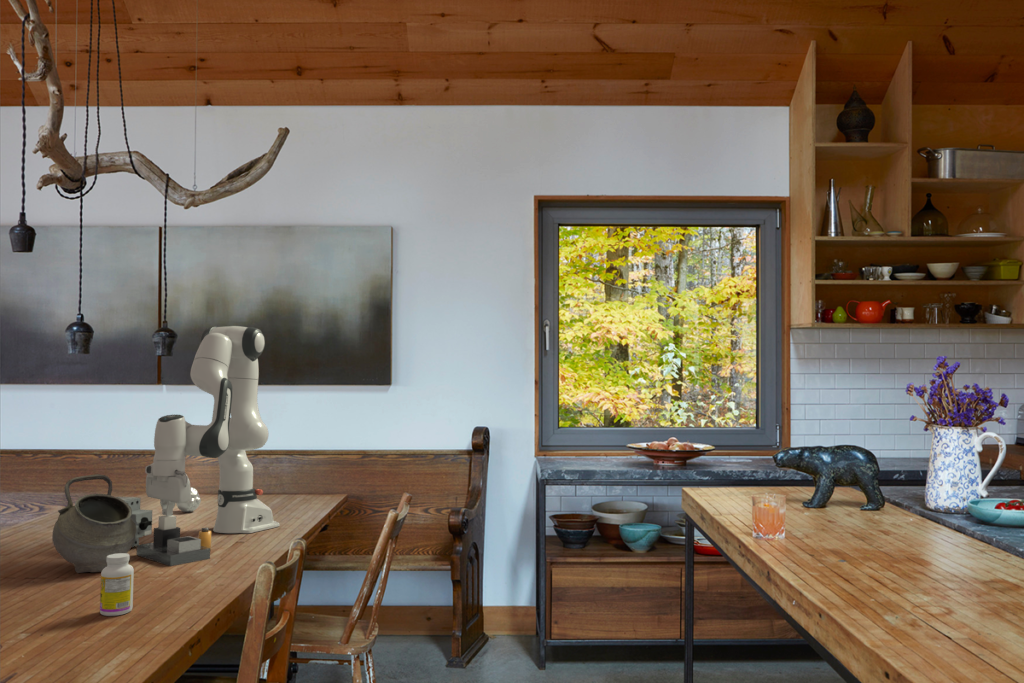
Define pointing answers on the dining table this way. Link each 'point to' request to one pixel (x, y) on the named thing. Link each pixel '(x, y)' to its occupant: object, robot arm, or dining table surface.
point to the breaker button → (167, 522)
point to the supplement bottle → (116, 586)
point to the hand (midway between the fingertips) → (167, 515)
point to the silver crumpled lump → (190, 502)
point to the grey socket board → (173, 548)
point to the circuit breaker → (139, 518)
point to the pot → (93, 528)
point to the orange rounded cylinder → (205, 537)
